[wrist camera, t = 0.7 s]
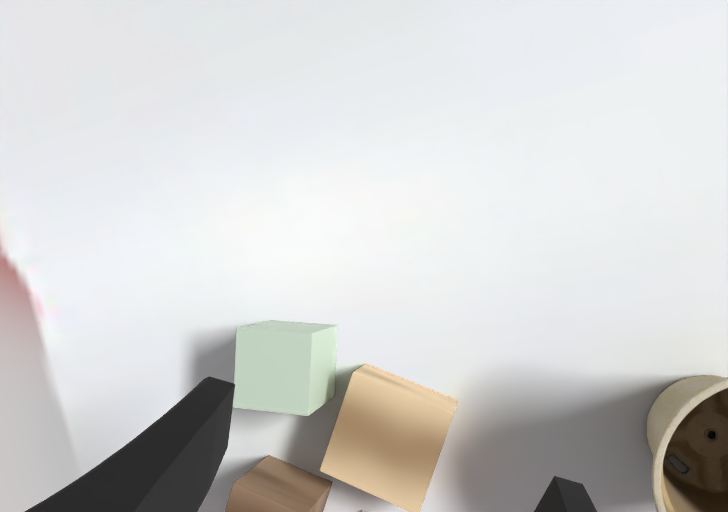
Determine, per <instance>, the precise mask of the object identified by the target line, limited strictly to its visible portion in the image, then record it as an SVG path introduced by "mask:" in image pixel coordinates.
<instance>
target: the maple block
mask: <svg viewBox="0 0 728 512" xmlns="http://www.w3.org/2000/svg"><path fill="white" fill-rule="evenodd" d="M457 403H458V400H457V399H454V398H452V397H449V396H447V395H444V394H442V393H439V392H437V391H434V390H432V389H429V388H427V387H424V386H421V385H419V384H416V383H414V382H411V381H409V380H406V379H404V378H401V377H399V376H396V375H394V374H391V373H389V372H386V371H384V370H381V369H379V368H376V367H374V366H371V365H369V364H365V365H363V366H362V367H360V368H359V369H357V370H356V371H354V372H353V373H352V376H351V379H350V382H349V385H348V388H347V391H346V394H345V397H344V400H343V403H342V406H341V409H340V412H339V415H338V418H337V421H336V424H335V427H334V430H333V433H332V436H331V439H330V442H329V444H328V447H327V450H326V453H325V456H324V459H323V462H322V465H321V468H320V471H321V472H323V473H326V474H328V475H330V476H332V477H334V478H337V479H339V480H341V481H343V482H345V483H348V484H350V485H352V486H354V487H356V488H359V489H361V490H363V491H365V492H367V493H370V494H372V495H374V496H376V497H378V498H381V499H383V500H385V501H387V502H389V503H392V504H394V505H396V506H398V507H400V508H403V509H405V510H407V511H409V512H420V509H421V506H422V503H423V501H424V498H425V495H426V492H427V489H428V486H429V483H430V480H431V478H432V475H433V472H434V469H435V466H436V463H437V460H438V458H439V455H440V452H441V449H442V446H443V443H444V440H445V437H446V435H447V432H448V429H449V426H450V423H451V420H452V417H453V414H454V412H455V409H456V406H457Z"/></svg>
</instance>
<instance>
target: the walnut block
mask: <svg viewBox="0 0 728 512" xmlns="http://www.w3.org/2000/svg"><path fill="white" fill-rule="evenodd" d="M331 485H332V482H331V481H328V480H326V479H324V478H321V477H319V476H317V475H314V474H312V473H310V472H307V471H305V470H303V469H300V468H298V467H296V466H293V465H291V464H289V463H286V462H284V461H282V460H279V459H277V458H275V457H272V456H270V455H268V456H267V457H266V458H265V459H263V460H262V461H261V462H259V463H258V464H257V465H256V466H254V467H253V468H252V469H251V470H249V471H248V472H247V473H246V474H244V475H243V476H242V477H241V478H239V479H238V480H237V481H235V482H234V483H233V487H232V490H231V493H230V496H229V500H228V503H227V506H226V510H225V512H323V510H324V507H325V504H326V501H327V497H328V494H329V491H330V488H331Z"/></svg>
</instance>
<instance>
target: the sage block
mask: <svg viewBox="0 0 728 512" xmlns="http://www.w3.org/2000/svg"><path fill="white" fill-rule="evenodd" d="M337 328H338V325H330V324H316V323H302V322H288V321H274V320H271V321H266V322H261V323H257V324H252V325H247V326H243V327H238V328H237V331H236V352H235V373H234V384H235V390H234V398H233V408H241V409H250V410H259V411H268V412H277V413H285V414H294V415H303V416H309V415H310V414H312V413H313V412H314V411H316V410H317V409H318V408H320V407H321V406H322V405H324V404H325V403H326V402H328V401H329V400H330V399H332V398H333V397H334V395H335V373H336V351H337Z"/></svg>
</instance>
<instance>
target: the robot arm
mask: <svg viewBox="0 0 728 512" xmlns="http://www.w3.org/2000/svg"><path fill="white" fill-rule="evenodd" d="M234 390H235V384H233V383H230V382H226V381H223V380H219V379H216V378H212V377H207V378H205V379H204V380H203V381H201V382H200V383H199V384H198V385H197V386H196V387H195V388H194V389H193V390H192V391H191V392H190V393H189V394H187V395H186V396H185V397H184V398H183V399H182V400H181V401H180V402H178V403H177V404H176V405H175V406H174V407H173V408H171V409H170V410H169V411H168V412H167V413H166V414H164V415H163V416H162V417H161V418H160V419H158V420H157V421H156V422H155V423H153V424H152V425H151V426H150V427H148V428H147V429H146V430H145V431H143V432H142V433H141V434H140V435H138V436H137V437H136V438H135V439H133V440H132V441H131V442H129V443H128V444H127V445H125V446H124V447H123V448H121V449H120V450H118V451H117V452H116V453H114V454H113V455H112V456H110V457H109V458H107V459H106V460H105V461H103V462H102V463H101V464H99V465H98V466H96V467H95V468H94V469H92V470H91V471H89V472H88V473H86V474H85V475H83V476H82V477H80V478H79V479H77V480H76V481H74V482H73V483H71V484H70V485H68V486H66V487H65V488H63V489H62V490H60V491H59V492H57V493H55V494H54V495H52V496H50V497H49V498H47V499H46V500H44V501H43V502H41V503H39V504H37V505H35V506H34V507H32V508H30V509H28V510H27V511H25V512H197V511H198V509H199V507H200V505H201V504H202V502H203V500H204V498H205V496H206V494H207V493H208V491H209V489H210V486H211V484H212V482H213V480H214V477H215V475H216V473H217V471H218V468H219V466H220V463H221V461H222V459H223V456H224V454H225V452H226V449H227V447H228V439H229V430H230V422H231V414H232V406H233V398H234ZM534 512H597V511H596V509H595V507H594V505H593V503H592V501H591V499H590V497H589V495H588V494H587V492H586V490H585V488H584V486H583V484H580V483H577V482H573V481H570V480H566V479H563V478H559V477H556V476H554V478H553V480H552V481H551V483H550V485H549V487H548V488H547V490H546V492H545V494H544V495H543V497H542V499H541V501H540V502H539V504H538V506H537V507H536V509H535V511H534Z"/></svg>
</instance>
